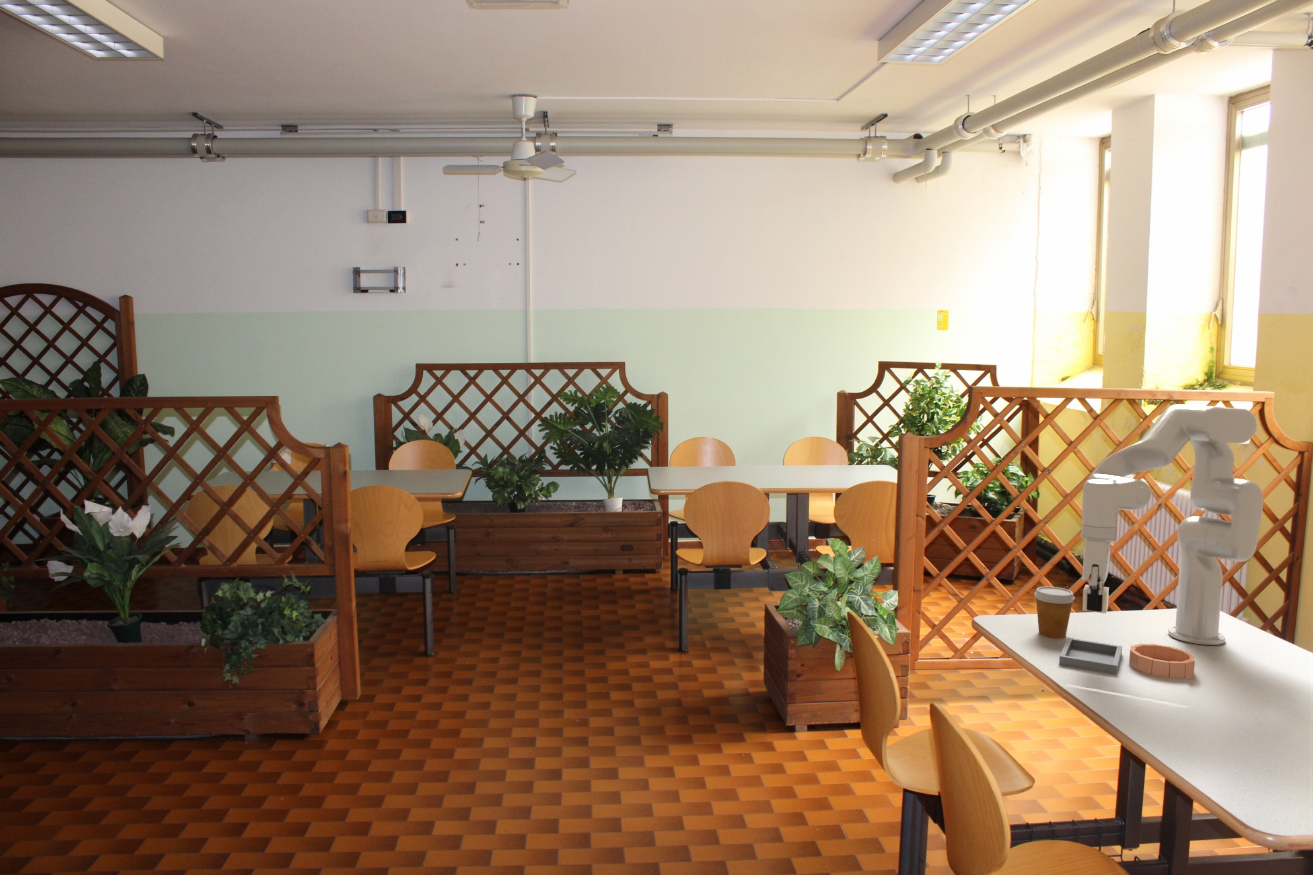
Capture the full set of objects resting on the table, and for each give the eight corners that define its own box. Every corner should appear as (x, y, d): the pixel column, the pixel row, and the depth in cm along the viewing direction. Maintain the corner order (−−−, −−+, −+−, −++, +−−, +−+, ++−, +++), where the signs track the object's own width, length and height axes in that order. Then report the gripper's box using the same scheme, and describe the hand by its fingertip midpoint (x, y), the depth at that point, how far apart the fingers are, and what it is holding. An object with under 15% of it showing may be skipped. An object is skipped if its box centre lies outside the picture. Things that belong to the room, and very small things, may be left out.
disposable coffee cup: (1074, 634, 232) (1077, 589, 231) (1069, 644, 224) (1072, 597, 223) (1035, 628, 237) (1038, 584, 236) (1029, 637, 229) (1031, 592, 228)
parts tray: (1067, 647, 222) (1068, 637, 222) (1121, 656, 216) (1122, 646, 216) (1059, 666, 209) (1059, 655, 208) (1116, 676, 202) (1117, 665, 202)
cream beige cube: (1084, 604, 215) (1085, 584, 214) (1107, 607, 212) (1108, 587, 212) (1082, 610, 210) (1083, 589, 210) (1106, 613, 208) (1107, 592, 207)
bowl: (1131, 656, 216) (1132, 640, 215) (1193, 666, 209) (1194, 650, 209) (1127, 672, 205) (1128, 655, 204) (1193, 684, 198) (1194, 666, 198)
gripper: (1085, 524, 218) (1081, 596, 220) (1077, 537, 204) (1073, 614, 206) (1119, 527, 215) (1115, 600, 216) (1113, 541, 200) (1110, 619, 202)
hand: (1095, 606), depth 211 cm, fingers closed on cream beige cube, 4 cm apart
